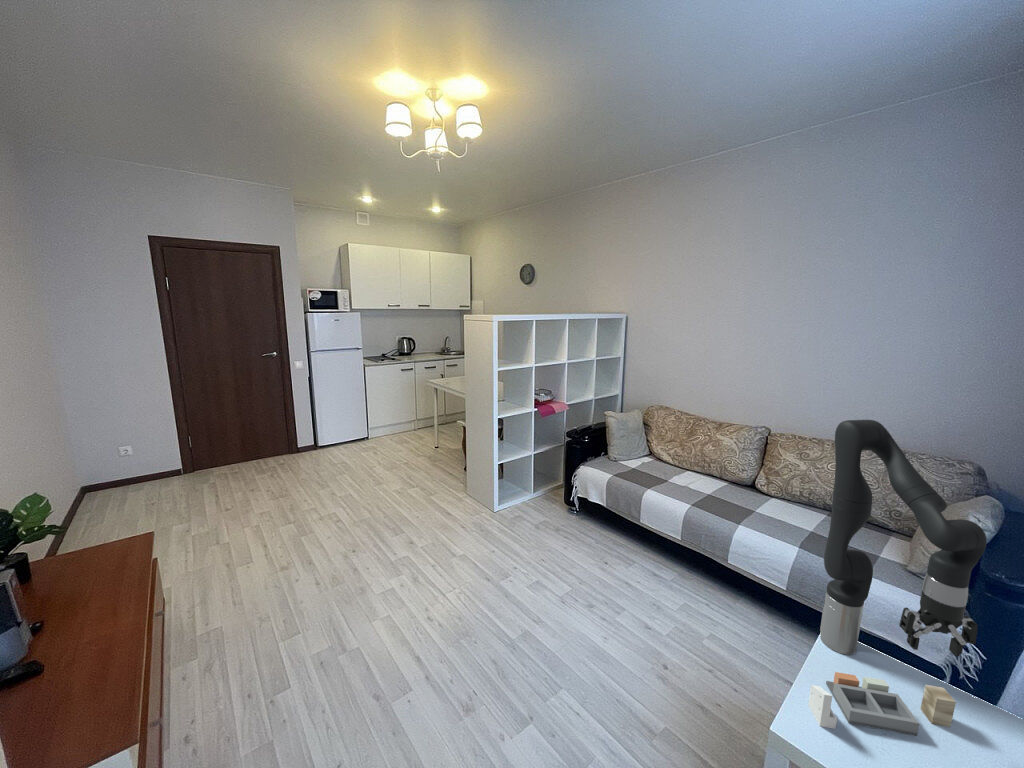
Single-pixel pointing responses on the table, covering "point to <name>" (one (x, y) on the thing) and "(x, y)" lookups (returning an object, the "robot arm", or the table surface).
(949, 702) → the tan rectangular block
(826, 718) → the white angled block
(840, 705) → the socket block
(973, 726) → the table surface
